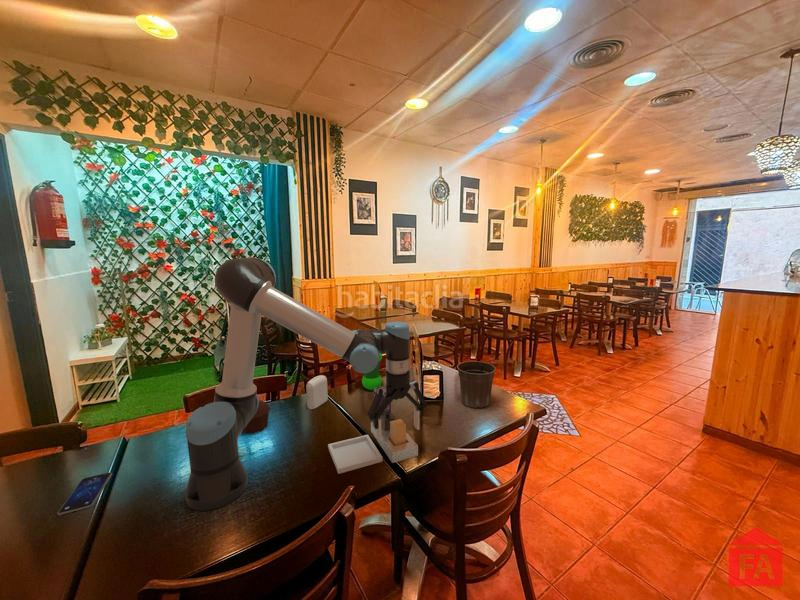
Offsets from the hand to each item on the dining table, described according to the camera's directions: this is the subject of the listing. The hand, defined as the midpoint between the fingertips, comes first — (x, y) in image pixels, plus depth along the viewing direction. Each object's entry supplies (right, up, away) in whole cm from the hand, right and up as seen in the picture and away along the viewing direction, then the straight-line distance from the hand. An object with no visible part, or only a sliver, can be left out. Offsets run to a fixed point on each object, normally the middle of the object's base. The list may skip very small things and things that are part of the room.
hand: (398, 432), depth 108 cm
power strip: (-2, -6, +5) cm, 8 cm away
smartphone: (-86, -10, -17) cm, 88 cm away
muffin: (-54, -5, +17) cm, 57 cm away
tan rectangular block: (0, -7, +1) cm, 7 cm away
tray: (-14, -7, -1) cm, 16 cm away
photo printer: (-35, -2, +35) cm, 49 cm away
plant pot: (+33, -1, +36) cm, 49 cm away
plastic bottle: (-13, +1, +51) cm, 53 cm away
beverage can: (-7, -4, +23) cm, 24 cm away
